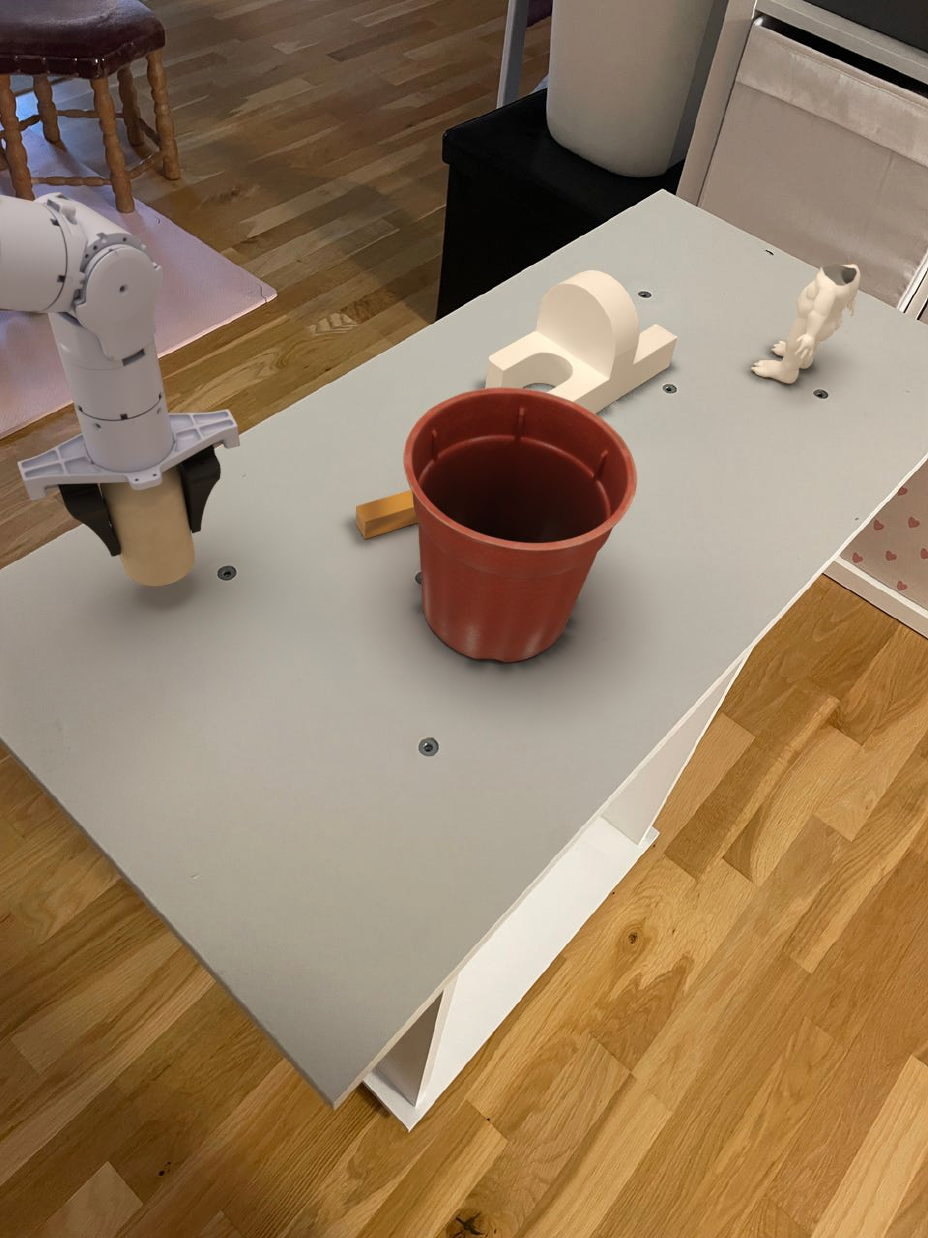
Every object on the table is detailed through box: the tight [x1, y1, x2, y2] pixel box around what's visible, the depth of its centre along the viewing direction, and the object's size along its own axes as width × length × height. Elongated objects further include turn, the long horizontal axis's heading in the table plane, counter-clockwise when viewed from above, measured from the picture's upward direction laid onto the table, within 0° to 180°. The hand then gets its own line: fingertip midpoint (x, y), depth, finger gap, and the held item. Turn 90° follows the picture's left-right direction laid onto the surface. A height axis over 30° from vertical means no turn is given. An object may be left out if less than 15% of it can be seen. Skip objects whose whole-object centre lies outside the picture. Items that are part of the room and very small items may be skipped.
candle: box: [99, 466, 196, 587], centre depth 73 cm, size 6×6×10 cm
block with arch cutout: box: [484, 269, 678, 415], centre depth 97 cm, size 18×10×11 cm, turn 134°
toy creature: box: [750, 263, 861, 384], centre depth 100 cm, size 12×6×12 cm, turn 141°
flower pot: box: [402, 387, 638, 663], centre depth 76 cm, size 16×16×16 cm
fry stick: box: [355, 489, 418, 540], centre depth 87 cm, size 14×2×2 cm, turn 117°
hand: (152, 535), depth 75 cm, fingers closed on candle, 5 cm apart
